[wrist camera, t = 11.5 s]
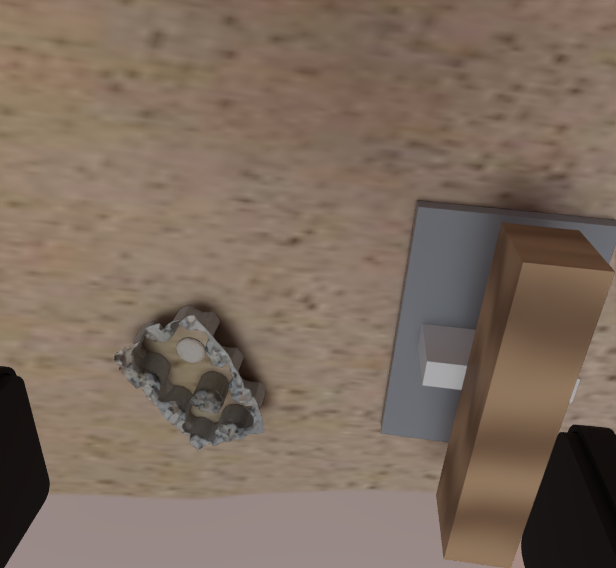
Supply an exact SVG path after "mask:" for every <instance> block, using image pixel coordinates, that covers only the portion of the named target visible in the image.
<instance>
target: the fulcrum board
mask: <svg viewBox="0 0 616 568" xmlns="http://www.w3.org/2000/svg"><path fill="white" fill-rule="evenodd" d="M501 223H511V224H521V225H531V226H541V227H551V228H561V229H571V230H580V232H581V233H582V234H583V235H584V236H585V237H586V239H587V240H588V241H589V242H590V243H591V244H592V246H593V247H594V248H595V249H596V250H597V251H598V253H599V254H600V255H601V256H602V257H603V258H604V260H605V261H606V262H607V263H608V264H609V263H610V260H611V257H612V254H613V251H614V248H615V245H616V221H615V220H610V219H600V218H589V217H579V216H569V215H559V214H549V213H539V212H528V211H518V210H508V209H498V208H488V207H478V206H468V205H457V204H447V203H437V202H427V201H417V204H416V210H415V217H414V223H413V229H412V235H411V241H410V247H409V254H408V260H407V266H406V272H405V278H404V284H403V290H402V297H401V303H400V309H399V315H398V321H397V327H396V333H395V340H394V346H393V352H392V358H391V364H390V370H389V377H388V383H387V389H386V395H385V401H384V407H383V413H382V420H381V434H387V435H395V436H403V437H411V438H419V439H427V440H435V441H443V442H449V440H450V435H451V431H452V427H453V423H454V419H455V414H456V410H457V406H458V402H459V398H460V394H461V389H462V385H463V381H464V377H465V373H466V369H467V364H468V360H469V356H470V352H471V348H472V343H473V339H474V335H475V331H476V327H477V323H478V318H479V314H480V310H481V306H482V302H483V298H484V293H485V289H486V285H487V281H488V277H489V272H490V268H491V264H492V260H493V256H494V252H495V247H496V243H497V239H498V235H499V231H500V227H501ZM579 381H580V378H579V376H578V379H577V382H576V385H575V387H574V390H573V393H572V396H571V399H570V402H569V403H572V401H573V398H574V395H575V392H576V390H577V387H578V384H579Z"/></svg>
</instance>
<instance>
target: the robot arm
mask: <svg viewBox="0 0 616 568" xmlns="http://www.w3.org/2000/svg"><path fill="white" fill-rule="evenodd" d="M49 486H50V482H49V476H48V473H47V469H46V465H45V461H44V457H43V453H42V449H41V446H40V442H39V438H38V434H37V430H36V426H35V422H34V418H33V415H32V411H31V407H30V403H29V399H28V395H27V391H26V388H25V384H24V381H23V379H22V378H21V377H19V376H17V375H16V373H15V371H14V370H13V369H12V368H10V367H4V366H0V568H4V567H5V565H6V564H7V562H8V561H9V559H10V557H11V556H12V554H13V552H14V551H15V549H16V547H17V546H18V544H19V543H20V541H21V539H22V538H23V536H24V534H25V533H26V531H27V530H28V528H29V526H30V525H31V523H32V522H33V520H34V518H35V517H36V515H37V513H38V512H39V510H40V509H41V507H42V505H43V504H44V502H45V500H46V498H47V495H48V492H49ZM521 550H522V557H523V562H524V566H525V568H616V434H615V433H614V431H613V430H611V429H610V428H604V427H594V426H584V425H572V426H571V427H570V428H569V430H568V432H567V433H566V432H560V433H559V434H558V436H557V438H556V441H555V444H554V447H553V449H552V452H551V455H550V458H549V461H548V464H547V466H546V469H545V472H544V475H543V478H542V481H541V483H540V486H539V489H538V492H537V495H536V498H535V500H534V503H533V506H532V509H531V512H530V515H529V517H528V520H527V523H526V526H525V529H524V532H523V535H522V541H521Z"/></svg>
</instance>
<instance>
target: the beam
mask: <svg viewBox="0 0 616 568" xmlns="http://www.w3.org/2000/svg"><path fill="white" fill-rule="evenodd" d="M614 274H615V271H614V270H613V269H612V268H611V267H610V265H609V264H608V263H607V262H606V261H605V260H604V258H603V257H602V256H601V255H600V254H599V253H598V251H597V250H596V249H595V248H594V247H593V246H592V244H591V243H590V242H589V241H588V240H587V239H586V237H585V236H584V235H583V234H582V233H581V232H580V230H571V229H561V228H551V227H541V226H531V225H521V224H511V223H501V227H500V231H499V235H498V239H497V243H496V247H495V252H494V256H493V260H492V264H491V268H490V272H489V277H488V281H487V285H486V289H485V293H484V298H483V302H482V306H481V310H480V314H479V318H478V323H477V327H476V331H475V335H474V339H473V343H472V348H471V352H470V356H469V360H468V364H467V369H466V373H465V377H464V381H463V385H462V389H461V394H460V398H459V402H458V406H457V410H456V414H455V419H454V423H453V427H452V431H451V435H450V440H449V444H448V448H447V452H446V456H445V460H444V465H443V469H442V473H441V477H440V481H439V485H438V490H437V494H436V497H437V506H438V514H439V522H440V530H441V540H442V547H443V557H444V559H446V560H453V561H460V562H468V563H475V564H482V565H489V566H496V567H504V568H511V566H512V563H513V560H514V557H515V554H516V552H517V549H518V546H519V543H520V540H521V537H522V535H523V532H524V529H525V526H526V523H527V520H528V517H529V515H530V512H531V509H532V506H533V503H534V500H535V498H536V495H537V492H538V489H539V486H540V483H541V481H542V478H543V475H544V472H545V469H546V466H547V464H548V461H549V458H550V455H551V452H552V449H553V447H554V444H555V441H556V438H557V436H558V433H559V430H560V427H561V424H562V421H563V419H564V416H565V413H566V410H567V407H568V404H569V402H570V399H571V396H572V393H573V390H574V387H575V385H576V382H577V379H578V376H579V373H580V370H581V368H582V365H583V362H584V359H585V356H586V353H587V351H588V348H589V345H590V342H591V339H592V336H593V334H594V331H595V328H596V325H597V322H598V319H599V317H600V314H601V311H602V308H603V305H604V302H605V300H606V297H607V294H608V291H609V288H610V285H611V283H612V280H613V277H614Z"/></svg>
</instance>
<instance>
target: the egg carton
mask: <svg viewBox="0 0 616 568" xmlns="http://www.w3.org/2000/svg"><path fill="white" fill-rule="evenodd" d="M219 323H220V321H219V319H218V317H217V315H216V314H215V313H214V312H213V311H209V312H202V311H199V310H197V309H196V308H194V307H193V306H191V305H189V306H186V307H182V308H181V309H180V310H179V311H178V313H177V315H176V316H175V318H174V320H173V321H172V322H171V323H169V324H167V325H166V326H165V328H164V327H162V325H161V324H160V323H159V324H157V323H156V322H155V321H152V322H149V323H147V324H144V325H143V327H142V328H141V330H140V331H139V333H138V334H137V335H136V338H135V339H134V341H133V342H134V345H132V346H129V347H127V348H126V347H125V348H124V349H123V350H121V351H119V352H117V353H116V354H115V357H114V358H115V359H114V360H115V363H116V364H118V365H119V369H120V371H121V372H122V374H124V375H125V376H126V377H127V379H128V381H129V382H130V383H131V384H133V385H134V386H135V388H139V387H141V388H142V389H143V391H144V393H145V394H146V397H147V398H148V400H149V401H153V402H154V404H155V405H156V406H157V407H158V408H159V409H160V411H161V413H162V415H163V416H164V418H165V419H166V420H168V421H169V422H170V423H171V424H172V425H174V426H175V427H176V428H178V429H179V430H180V431H181V432H182V433H183V434H186V435H189V437H190V443H191V445H192V446H193V447H195V448H196V449H197V450H198V449H201V448H202V447H203V446H204V445H206V444H210V443H212V446H217V445H218V444H220V443H221V442H224V441H226V442H227V441H228V442H230V441H232V440H235V439H243V438H244V437H246V436H247V435H249V434H260V433H264V425H263V420H262V417H261V414H260V411H259V410H260V408H261V406H262V403H263V399H264V396H265V392H266V390H265V388H264V387H263V385H262V384H261V383H260V382H249V381H246V380H244V379H243V378H242V377H240V375H239V368H240V366H241V363H242V361H243V358H244V357H243V355H242V353H241V352H240V350H239V349H238V348H237V347H234V348H228V347H224V346H222V345H220V344H219V343H218V342H217V341H216V340H215V338H214V333H215V331H216V329H217V327H218V325H219ZM179 325H182V326H184V327H185V328H186V329H188V330H200V331H202V332H204V333H206V334H207V336H208V341H207V344H206V347H204V346H203V344H202V343H201V342H200V341H198V340H197V339H194V338H190V337H186V338H183V339H181V340H180V341H179V342H178V344H177V349H176V350H177V353H178V355H179V356H180V358H182V359H183V360H185V361H187V362H190V363H198V362H200V361H201V360H203V358H204V357H205V351H206V353H207V355H208V356H209V357H210V359H211V362H212V363H211V365H213V366H218V367H223V366H225V365H227V364H229V365H230V367H231V369H230V372H231V374H232V375H233V377H232V380H231V381H230V383H229V382H228V380H227V378H226V377H225V376H224V375H222V374H220V373H217V372H207V373H205V374H204V375H203V376H202V377H201V379H200V381H199V383H198V385H197V387H196V390H195V392H194V394H193V395H192V393H191V392H190V391H189V390H188V389H186V388H185V387H182V386H173V385H172V383H171V382H170V381H169V380H168V379H167V378H166V377H167V375H168V373H169V371H170V364H169V362H168V360H167V359H166V358H165V357H163V356H162V355H160V354H158V353H148V352H147V351H146V350H145V349H144V347H143V346H142V342H143V340H144V338H145V336H146V337H147V338H148V339H150V340H151V341H154V342H165V341H168V340H169V339H171V337H172V336H173V334H174V333H175V331H176V329H177V327H178V326H179ZM228 389H229V390H230V391H231V395H232V399H233V400H234V401H236V402H239V403H244V406H242V405H238V404H230V405H228V406H226V407H225V408H224V410H223V413H222V415H221V418H220V421H219V422H218V423H213V422H212V421H210V420H209V419H207V418H205V417H195V416H194V415H193V414H192V413H191V412H190V408H191V406H192V405H194V406H195V407H196V408H198V409H199V410H200V411H204V412H208V413H210V412H213V413H218V412H219V410H220V409H221V408H222V406H223V404H224V401H225V398H226V395H227V392H228ZM245 406H252V409H251V410H250V409H247V408H246V407H245Z"/></svg>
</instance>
